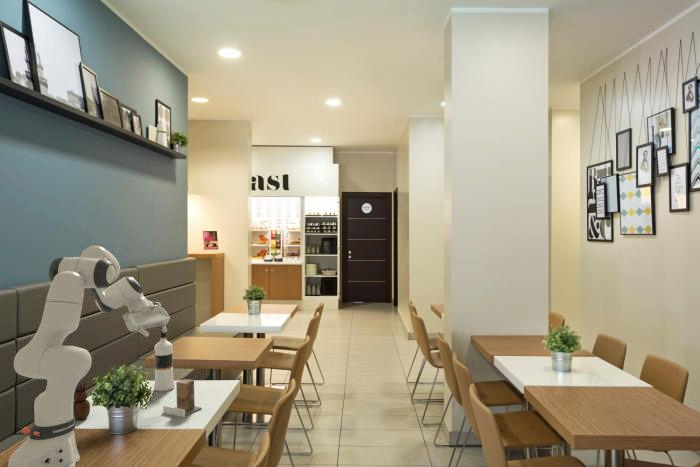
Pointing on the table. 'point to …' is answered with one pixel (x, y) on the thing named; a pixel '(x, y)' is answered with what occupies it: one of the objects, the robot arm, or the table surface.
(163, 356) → the vodka
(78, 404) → the wooden figurine
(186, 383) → the walnut block
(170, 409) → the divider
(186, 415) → the coaster
